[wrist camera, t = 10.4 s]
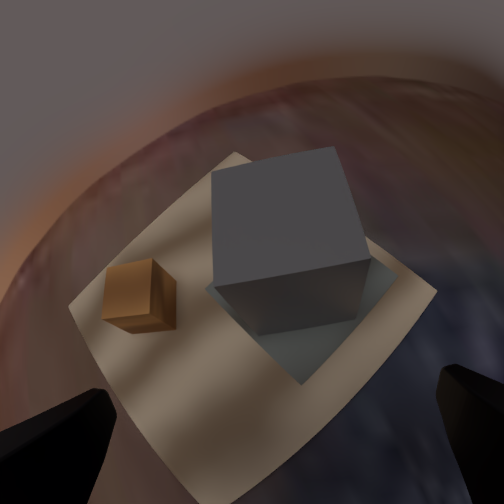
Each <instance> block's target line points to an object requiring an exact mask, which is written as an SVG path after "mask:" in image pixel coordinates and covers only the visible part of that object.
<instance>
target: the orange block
mask: <svg viewBox="0 0 504 504" xmlns="http://www.w3.org/2000/svg"><path fill="white" fill-rule="evenodd" d="M176 284H177V281H176V280H175V279H174V278H173V277H172V276H171V275H170V274H169V273H168V272H166V271H165V270H164V269H163V268H162V267H161V266H160V265H159V264H158V263H157V262H156V261H155V260H154V259H153V258H150V259H145V260H141V261H136V262H131V263H126V264H122V265H117V266H112V267H107V270H106V278H105V286H104V296H103V306H102V317H101V319H102V320H104V321H106V322H108V323H110V324H112V325H114V326H116V327H118V328H120V329H122V330H124V331H126V332H128V333H130V334H140V333H151V332H161V331H170V330H176Z"/></svg>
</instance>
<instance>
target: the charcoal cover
mask: <svg viewBox="0 0 504 504" xmlns="http://www.w3.org/2000/svg"><path fill="white" fill-rule="evenodd" d="M211 209H212V256H213V287H214V288H215V289H216V290H217V291H218V293H219V294H220V295H221V296H222V297H223V298H224V299H225V300H226V301H227V303H228V304H229V305H230V306H231V307H232V308H233V309H234V310H235V311H236V313H237V314H238V315H239V316H240V317H241V318H242V319H243V320H244V321H245V322H246V323H247V324H248V326H249V327H250V328H251V329H252V330H253V331H254V332H255V333H256V334H257V335H258V336H262V335H269V334H275V333H282V332H288V331H294V330H300V329H306V328H312V327H318V326H323V325H329V324H334V323H339V322H344V321H349V320H354V319H356V316H357V312H358V309H359V305H360V301H361V298H362V294H363V290H364V286H365V282H366V278H367V274H368V270H369V266H370V262H371V255H370V252H369V248H368V245H367V242H366V238H365V235H364V232H363V228H362V225H361V222H360V219H359V216H358V212H357V209H356V206H355V203H354V200H353V197H352V194H351V191H350V188H349V186H348V183H347V180H346V177H345V174H344V172H343V169H342V166H341V163H340V161H339V158H338V155H337V153H336V150H335V147H334V146H332V147H326V148H321V149H315V150H309V151H304V152H299V153H293V154H288V155H283V156H278V157H273V158H269V159H264V160H259V161H255V162H250V163H246V164H241V165H237V166H233V167H228V168H224V169H220V170H216V171H212V172H211Z"/></svg>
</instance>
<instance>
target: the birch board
mask: <svg viewBox="0 0 504 504" xmlns="http://www.w3.org/2000/svg"><path fill="white" fill-rule="evenodd" d="M250 162H252V161H250V160H248V159H247V158H245V157H243V156H242V155H240V154H238V153H237V152H234V153H232V154H231V155H230V156H229V157H227V158H226V159H225V160H224V161H222V162H221V163H220V164H219V165H218V166H216V167H215V168H214V169H213V170H212V171H216V170H220V169H224V168H228V167H233V166H237V165H241V164H246V163H250ZM212 171H210V172H209V173H208V174H207V175H206V176H204V177H203V178H202V179H201V180H200V181H198V182H197V183H196V184H195V185H194V186H193V187H191V188H190V189H189V190H188V191H187V192H186V193H185V194H183V195H182V196H181V197H180V198H179V199H178V200H177V201H175V202H174V203H173V204H172V205H171V206H170V207H169V208H168V209H166V210H165V211H164V212H163V213H162V214H161V215H160V216H159V217H158V218H157V219H155V220H154V221H153V222H152V223H151V224H150V225H149V226H148V227H147V228H146V229H145V230H144V231H143V232H141V233H140V234H139V235H138V236H137V237H136V238H135V239H134V240H133V241H132V242H131V243H130V244H129V245H128V246H127V247H126V248H125V249H124V250H123V251H122V252H121V253H120V254H119V255H118V256H117V257H116V258H114V259H113V260H112V261H111V262H110V263H109V264H108V265H107V266H106V267H105V268H104V269H103V271H102V272H101V273H100V274H99V275H98V276H97V277H96V278H95V279H94V280H93V281H92V282H91V283H90V284H89V285H88V286H87V287H86V288H85V289H84V290H83V291H82V292H81V293H80V294H79V295H78V296H77V298H76V299H75V300H74V301H73V302H72V303H71V304H70V305H69V306H68V307H69V309H70V311H71V314H72V316H73V318H74V320H75V322H76V324H77V326H78V328H79V330H80V332H81V334H82V336H83V338H84V340H85V342H86V344H87V346H88V348H89V349H90V351H91V353H92V355H93V357H94V359H95V360H96V362H97V364H98V366H99V367H100V369H101V371H102V373H103V374H104V376H105V378H106V379H107V381H108V383H109V384H110V386H111V388H112V389H113V391H114V393H115V394H116V396H117V397H118V399H119V401H120V402H121V404H122V405H123V407H124V408H125V410H126V411H127V413H128V414H129V416H130V417H131V419H132V420H133V422H134V423H135V424H136V426H137V427H138V429H139V430H140V432H141V433H142V434H143V436H144V437H145V438H146V440H147V441H148V443H149V444H150V445H151V447H152V448H153V449H154V451H155V452H156V453H157V454H158V456H159V457H160V458H161V460H162V461H163V462H164V463H165V465H166V466H167V467H168V468H169V469H170V471H171V472H172V473H173V474H174V475H175V477H176V478H177V479H178V480H179V481H180V483H181V484H182V485H183V486H184V487H185V488H186V489H187V491H188V492H189V493H190V494H191V495H192V496H193V497H194V498H195V499H196V500H197V502H198V503H199V504H231V503H232V502H233V501H235V500H236V499H238V498H239V497H240V496H242V495H243V494H245V493H246V492H247V491H249V490H250V489H251V488H253V487H254V486H255V485H257V484H258V483H259V482H261V481H262V480H263V479H264V478H266V477H267V476H268V475H269V474H271V473H272V472H273V471H274V470H276V469H277V468H278V467H279V466H281V465H282V464H283V463H284V462H285V461H287V460H288V459H289V458H290V457H291V456H292V455H294V454H295V453H296V452H297V451H298V450H299V449H300V448H301V447H303V446H304V445H305V444H306V443H307V442H308V441H309V440H310V439H311V438H312V437H314V436H315V435H316V434H317V433H318V432H319V431H320V430H321V429H322V428H323V427H324V426H325V425H326V424H327V423H328V422H329V421H330V420H331V419H332V418H333V417H334V416H335V415H336V414H337V413H338V412H339V411H340V410H341V409H342V408H343V407H344V406H345V405H346V404H347V403H348V402H349V401H350V400H351V399H352V398H353V397H354V396H355V395H356V393H357V392H358V391H359V390H360V389H361V388H362V387H363V386H364V385H365V384H366V383H367V381H368V380H369V379H370V378H371V377H372V376H373V375H374V373H375V372H376V371H377V370H378V369H379V368H380V366H381V365H382V364H383V363H384V362H385V361H386V359H387V358H388V357H389V356H390V354H391V353H392V352H393V351H394V350H395V348H396V347H397V346H398V345H399V343H400V342H401V341H402V339H403V338H404V337H405V336H406V334H407V333H408V332H409V330H410V329H411V328H412V326H413V325H414V324H415V322H416V321H417V320H418V318H419V317H420V315H421V314H422V313H423V311H424V310H425V308H426V307H427V306H428V304H429V303H430V301H431V300H432V298H433V297H434V295H435V294H436V293H437V290H435V289H434V288H433V287H432V286H430V285H429V284H428V283H427V282H425V281H424V280H423V279H422V278H420V277H419V276H418V275H416V274H415V273H414V272H412V271H411V270H410V269H409V268H407V267H406V266H405V265H403V264H402V263H401V262H399V261H398V260H397V259H395V258H394V257H393V256H391V255H390V254H389V253H387V252H386V251H385V250H383V249H382V248H381V247H379V246H378V245H376V244H375V243H374V242H372V241H371V240H370V239H368V238H367V237H365V238H366V242H367V245H368V248H369V252H370V255H371V262H370V266H369V270H368V274H367V278H366V282H365V286H364V290H363V294H362V298H361V301H360V305H359V309H358V312H357V316H356V319H354V320H349V321H344V322H339V323H334V324H329V325H323V326H318V327H312V328H306V329H300V330H294V331H288V332H282V333H275V334H269V335H262V336H258V335H257V334H256V333H255V332H254V331H253V330H252V329H251V328H250V327H249V326H248V324H247V323H246V322H245V321H244V320H243V319H242V318H241V317H240V316H239V315H238V314H237V313H236V311H235V310H234V309H233V308H232V307H231V306H230V305H229V304H228V303H227V301H226V300H225V299H224V298H223V297H222V296H221V295H220V294H219V293H218V291H217V290H216V289H215V288H214V287H213V256H212V209H211V172H212ZM150 258H153V259H154V260H155V261H156V262H157V263H158V264H159V265H160V266H161V267H162V268H163V269H164V270H165V271H166V272H168V273H169V274H170V275H171V276H172V277H173V278H174V279H175V280H176V281H177V284H176V330H170V331H161V332H151V333H140V334H130V333H128V332H126V331H124V330H122V329H120V328H118V327H116V326H114V325H112V324H110V323H108V322H106V321H104V320H102V319H101V317H102V306H103V296H104V286H105V278H106V270H107V267H112V266H117V265H122V264H126V263H131V262H136V261H141V260H145V259H150Z"/></svg>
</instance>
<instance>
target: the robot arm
mask: <svg viewBox="0 0 504 504" xmlns="http://www.w3.org/2000/svg"><path fill="white" fill-rule="evenodd" d="M436 399H437V403H438V406H439V409H440V412H441V415H442V419H443V422H444V425H445V429H446V432H447V436H448V439H449V442H450V445H451V448H452V451H453V453H454V455H455V458H456V460H457V463H458V465H459V468H460V471H461V473H462V476H463V478H464V481H465V484H466V486H467V489H468V492H469V495H470V498H471V500H472V503H473V504H504V384H502V383H500V382H498V381H495V380H493V379H490V378H488V377H486V376H483V375H481V374H479V373H476V372H474V371H472V370H470V369H467V368H465V367H463V366H460V365H458V364H452V365H448V366H445V367H443V368H442V369H441V372H440V376H439V381H438V385H437V390H436ZM116 418H117V413H116V409H115V407H114V405H113V403H112V401H111V398H110V396H109V394H108V392H107V391H106V390H104V389H98V388H92V389H90V390H88V391H86V392H84V393H82V394H80V395H78V396H76V397H74V398H72V399H70V400H68V401H66V402H64V403H61V404H59V405H57V406H55V407H53V408H51V409H49V410H47V411H45V412H43V413H40V414H38V415H36V416H34V417H32V418H30V419H27V420H25V421H23V422H21V423H19V424H16V425H14V426H12V427H10V428H8V429H5V430H3V431H1V432H0V504H87V503H88V500H89V498H90V495H91V492H92V490H93V487H94V485H95V482H96V480H97V477H98V475H99V472H100V470H101V467H102V465H103V462H104V459H105V456H106V453H107V449H108V446H109V442H110V439H111V435H112V432H113V429H114V425H115V422H116Z"/></svg>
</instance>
